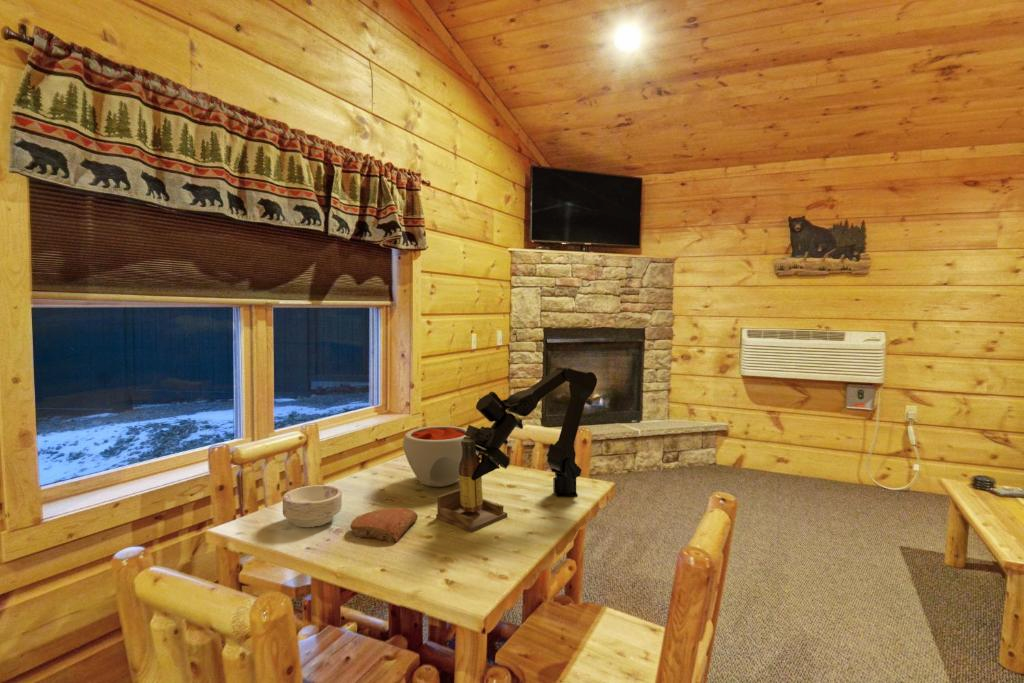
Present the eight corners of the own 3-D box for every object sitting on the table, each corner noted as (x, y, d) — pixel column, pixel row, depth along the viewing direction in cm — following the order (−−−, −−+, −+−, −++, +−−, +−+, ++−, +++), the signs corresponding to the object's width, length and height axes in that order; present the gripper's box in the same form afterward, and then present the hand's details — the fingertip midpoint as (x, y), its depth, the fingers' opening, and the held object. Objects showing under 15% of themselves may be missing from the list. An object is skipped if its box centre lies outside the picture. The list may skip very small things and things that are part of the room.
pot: (488, 477, 185) (487, 426, 183) (449, 500, 163) (448, 442, 162) (430, 468, 195) (430, 419, 194) (386, 488, 174) (386, 433, 173)
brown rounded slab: (370, 498, 151) (420, 510, 148) (366, 521, 151) (416, 533, 148) (344, 511, 136) (399, 524, 134) (340, 536, 136) (394, 550, 133)
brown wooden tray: (507, 516, 151) (507, 495, 150) (471, 532, 140) (471, 509, 140) (472, 504, 160) (472, 484, 160) (436, 518, 150) (435, 496, 149)
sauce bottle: (477, 503, 155) (476, 435, 153) (486, 510, 149) (485, 440, 148) (456, 507, 152) (455, 438, 150) (464, 515, 146) (463, 443, 145)
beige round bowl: (353, 514, 152) (352, 486, 152) (318, 536, 138) (318, 506, 137) (308, 508, 157) (307, 481, 157) (270, 528, 143) (269, 499, 142)
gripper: (466, 408, 158) (432, 451, 153) (500, 420, 143) (464, 468, 138) (489, 431, 163) (457, 473, 158) (524, 444, 148) (490, 492, 143)
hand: (466, 476), depth 149 cm, fingers closed on sauce bottle, 6 cm apart
